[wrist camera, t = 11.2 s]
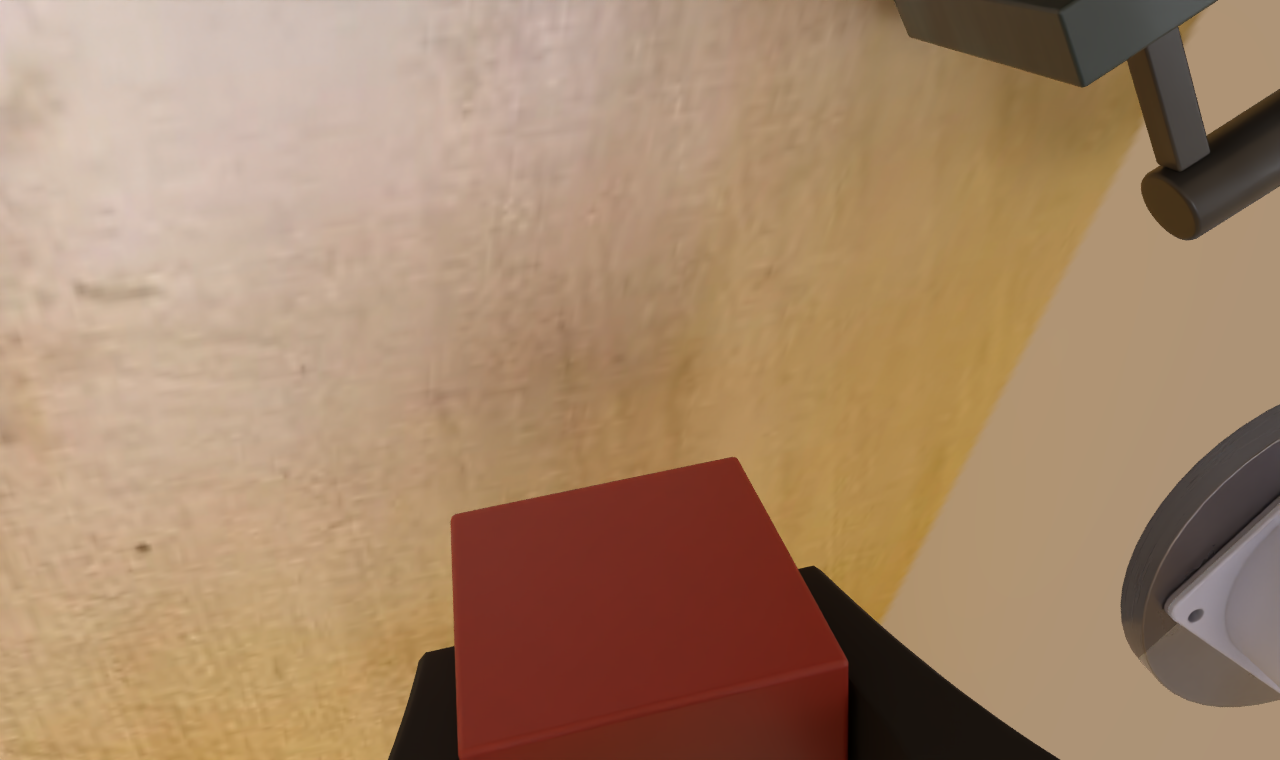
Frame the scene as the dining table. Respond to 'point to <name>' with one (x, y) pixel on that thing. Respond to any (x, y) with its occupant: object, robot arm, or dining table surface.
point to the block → (641, 628)
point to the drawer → (1151, 43)
